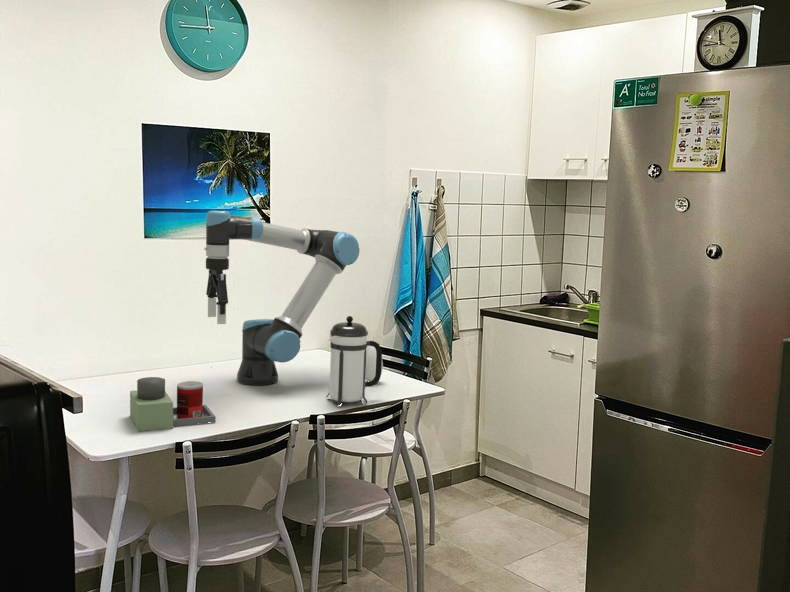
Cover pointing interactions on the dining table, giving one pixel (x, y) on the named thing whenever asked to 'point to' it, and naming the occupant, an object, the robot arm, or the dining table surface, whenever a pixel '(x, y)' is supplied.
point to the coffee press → (350, 362)
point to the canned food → (189, 399)
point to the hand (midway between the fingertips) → (216, 320)
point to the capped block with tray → (158, 407)
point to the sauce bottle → (371, 363)
